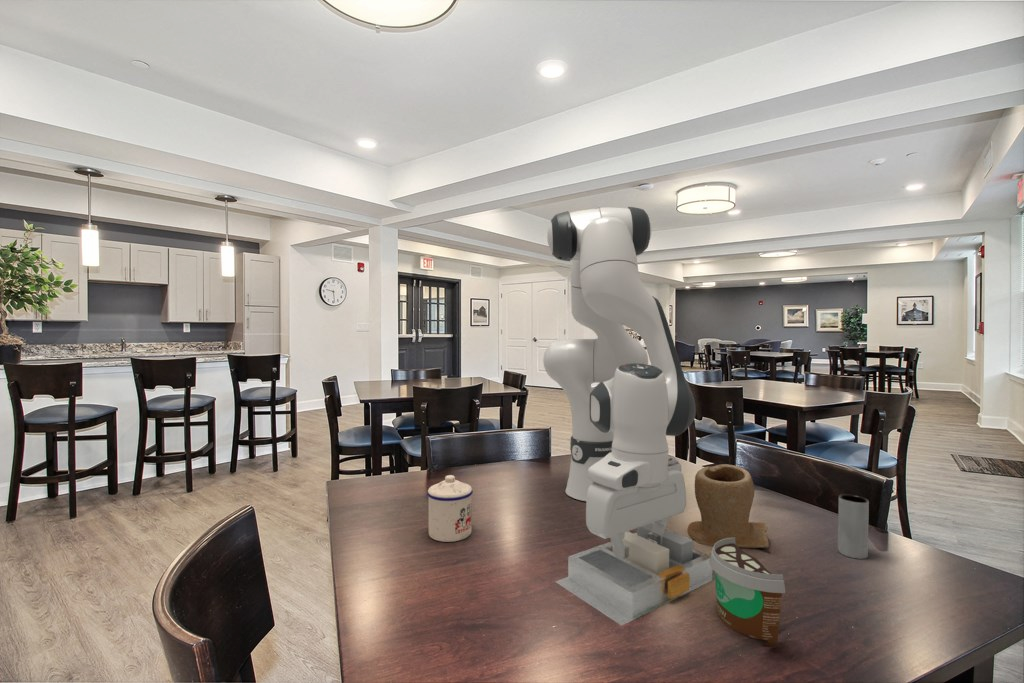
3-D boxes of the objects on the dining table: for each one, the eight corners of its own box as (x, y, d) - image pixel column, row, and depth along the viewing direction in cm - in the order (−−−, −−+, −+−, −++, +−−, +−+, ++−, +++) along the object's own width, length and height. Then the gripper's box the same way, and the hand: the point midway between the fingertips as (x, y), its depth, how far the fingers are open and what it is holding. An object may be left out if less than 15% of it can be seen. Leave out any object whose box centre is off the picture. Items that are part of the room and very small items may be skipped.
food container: (693, 602, 73) (693, 537, 73) (732, 601, 74) (733, 535, 73) (738, 657, 61) (739, 578, 61) (784, 655, 61) (785, 577, 61)
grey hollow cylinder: (862, 550, 91) (863, 495, 91) (871, 560, 86) (872, 503, 86) (834, 546, 92) (835, 492, 92) (842, 556, 88) (843, 500, 88)
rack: (653, 549, 91) (653, 523, 91) (726, 582, 79) (726, 553, 79) (555, 587, 77) (555, 557, 77) (624, 635, 65) (625, 599, 65)
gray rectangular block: (648, 555, 86) (648, 521, 86) (692, 576, 79) (693, 539, 79) (637, 559, 85) (637, 525, 84) (681, 581, 77) (681, 544, 77)
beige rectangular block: (624, 564, 83) (624, 529, 83) (668, 587, 75) (669, 549, 75) (612, 569, 81) (612, 534, 81) (656, 593, 74) (656, 554, 74)
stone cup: (695, 555, 89) (696, 474, 88) (683, 529, 100) (684, 457, 100) (784, 562, 86) (786, 478, 86) (762, 534, 98) (763, 460, 97)
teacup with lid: (463, 545, 92) (462, 485, 92) (419, 540, 95) (419, 481, 94) (483, 521, 104) (483, 467, 104) (444, 517, 106) (444, 464, 106)
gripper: (665, 452, 86) (664, 529, 87) (579, 470, 75) (579, 559, 75) (696, 460, 81) (695, 542, 81) (609, 481, 70) (609, 576, 70)
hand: (638, 550), depth 78 cm, fingers open, 7 cm apart
